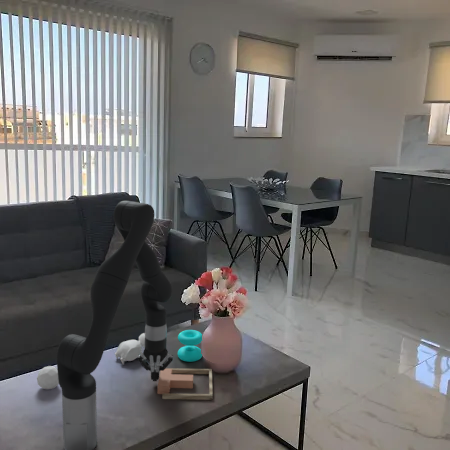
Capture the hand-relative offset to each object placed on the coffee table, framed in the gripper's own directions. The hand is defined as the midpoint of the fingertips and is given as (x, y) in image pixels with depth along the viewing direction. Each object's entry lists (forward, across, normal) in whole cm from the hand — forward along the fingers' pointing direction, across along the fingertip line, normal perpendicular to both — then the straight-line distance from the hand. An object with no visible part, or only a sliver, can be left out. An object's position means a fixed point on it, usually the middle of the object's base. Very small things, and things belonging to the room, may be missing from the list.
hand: (155, 380), depth 173 cm
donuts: (+2, +12, +21) cm, 24 cm away
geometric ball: (+2, -36, -3) cm, 36 cm away
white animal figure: (+2, -10, +20) cm, 22 cm away
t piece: (+2, +8, 0) cm, 8 cm away
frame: (+2, +12, 0) cm, 12 cm away
